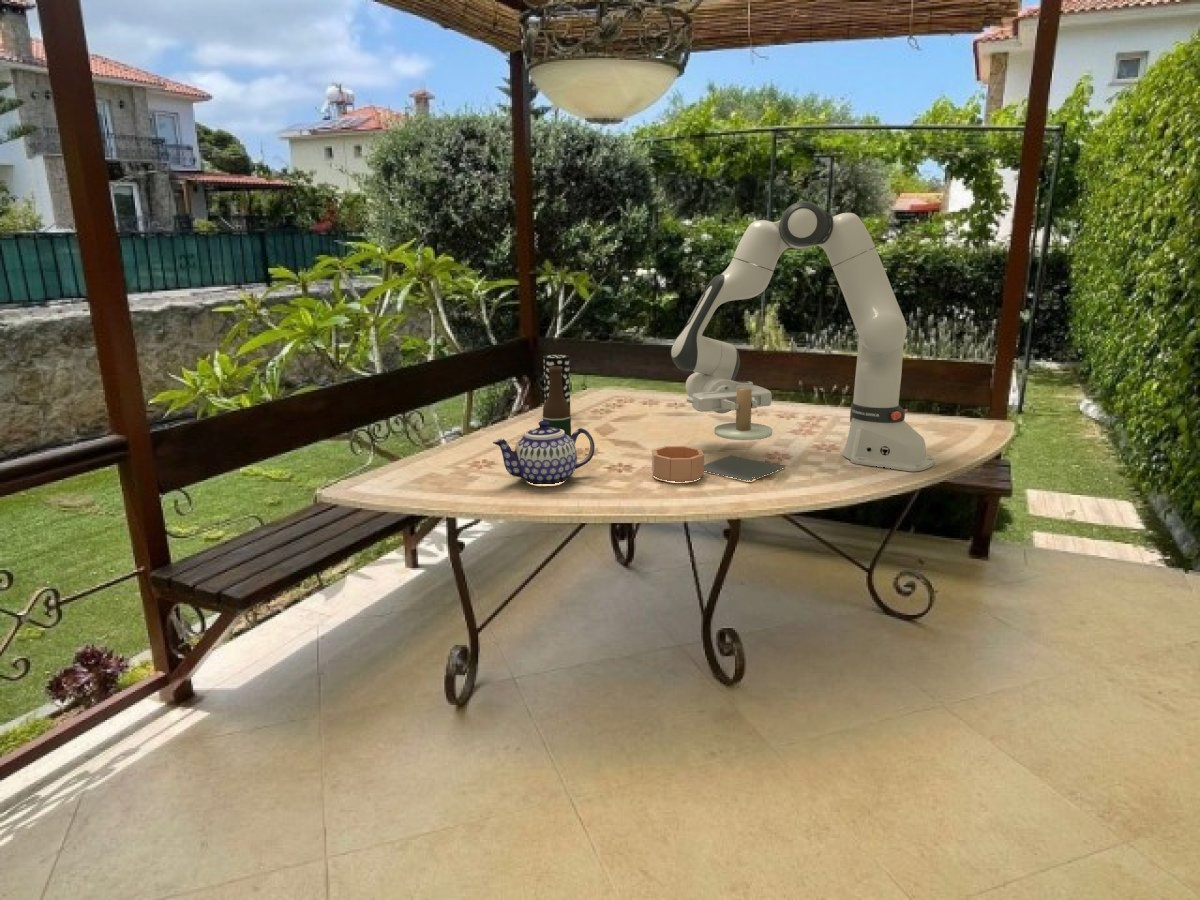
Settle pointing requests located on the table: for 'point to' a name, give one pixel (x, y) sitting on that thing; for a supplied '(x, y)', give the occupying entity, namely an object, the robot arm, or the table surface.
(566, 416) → the beer bottle
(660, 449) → the bowl
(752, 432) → the lid
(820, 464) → the table surface
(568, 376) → the spotted tube
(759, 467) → the mat
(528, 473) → the teapot
